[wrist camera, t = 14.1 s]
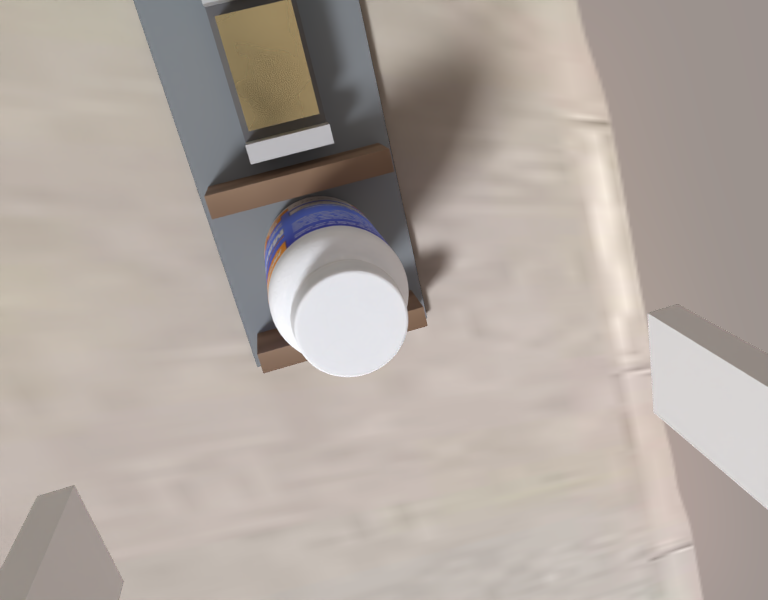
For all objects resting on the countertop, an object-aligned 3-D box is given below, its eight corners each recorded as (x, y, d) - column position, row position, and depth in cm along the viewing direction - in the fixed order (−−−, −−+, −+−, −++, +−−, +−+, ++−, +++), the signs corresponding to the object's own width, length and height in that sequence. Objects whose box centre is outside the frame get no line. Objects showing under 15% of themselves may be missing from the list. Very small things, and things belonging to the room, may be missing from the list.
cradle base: (200, -12, 25) (195, -19, 23) (286, -31, 26) (289, -40, 24) (251, 158, 28) (250, 164, 26) (328, 138, 28) (334, 143, 26)
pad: (216, 18, 25) (214, 16, 24) (288, 2, 25) (290, -2, 24) (249, 129, 27) (248, 131, 26) (316, 112, 27) (319, 113, 26)
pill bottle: (253, 204, 29) (253, 263, 20) (367, 185, 29) (418, 233, 20) (276, 312, 31) (285, 411, 22) (383, 292, 31) (435, 378, 22)
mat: (43, -269, 22) (40, -274, 22) (289, -312, 23) (290, -319, 23) (257, 363, 32) (257, 366, 31) (425, 315, 33) (427, 318, 32)
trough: (208, 186, 28) (204, 196, 26) (378, 142, 29) (389, 148, 27) (262, 351, 31) (263, 373, 29) (414, 307, 32) (427, 325, 30)
